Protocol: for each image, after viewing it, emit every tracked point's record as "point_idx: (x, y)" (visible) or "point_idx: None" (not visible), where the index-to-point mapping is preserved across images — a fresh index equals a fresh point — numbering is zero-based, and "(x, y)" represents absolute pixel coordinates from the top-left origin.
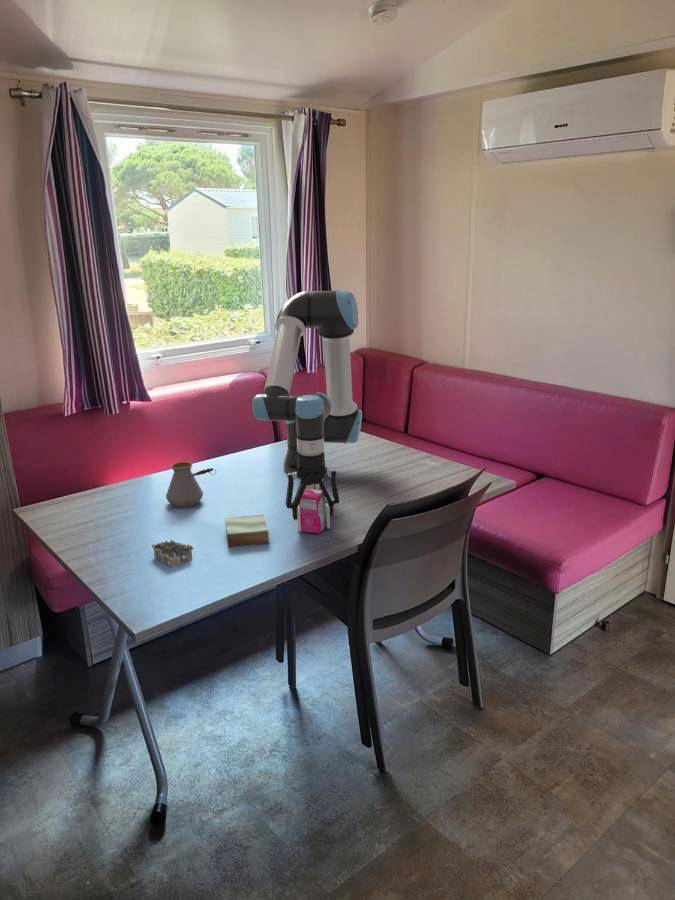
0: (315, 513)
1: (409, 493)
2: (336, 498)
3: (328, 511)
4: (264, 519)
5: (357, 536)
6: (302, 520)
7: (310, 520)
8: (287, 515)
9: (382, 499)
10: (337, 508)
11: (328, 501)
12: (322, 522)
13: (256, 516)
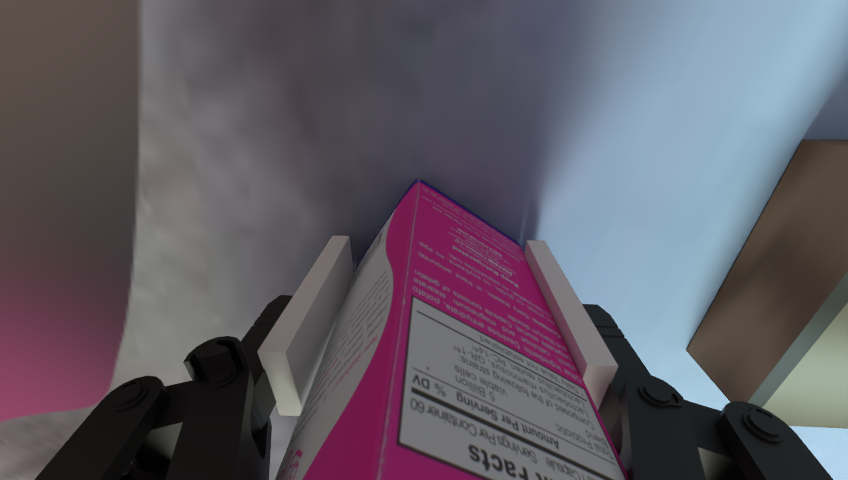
0: (428, 274)
1: (3, 452)
2: (99, 442)
3: (290, 315)
4: (801, 363)
5: (145, 87)
6: (530, 286)
7: (473, 256)
8: None
9: None
10: (289, 420)
11: (231, 415)
12: (372, 256)
13: (816, 411)
